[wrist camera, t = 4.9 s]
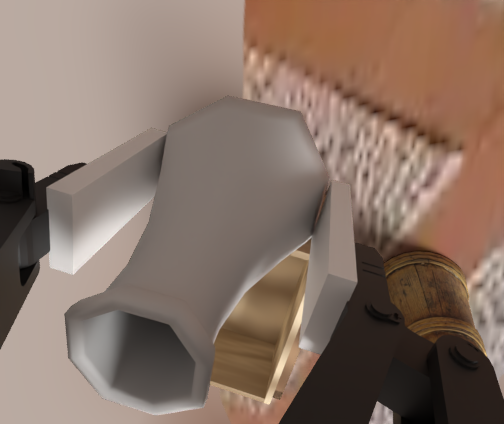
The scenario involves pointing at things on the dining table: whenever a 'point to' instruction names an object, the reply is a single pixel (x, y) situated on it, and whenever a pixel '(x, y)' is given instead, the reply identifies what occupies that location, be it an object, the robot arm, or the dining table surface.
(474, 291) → the dining table surface
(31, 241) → the robot arm
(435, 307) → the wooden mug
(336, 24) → the dining table surface
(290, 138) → the flask
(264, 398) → the pine crate
